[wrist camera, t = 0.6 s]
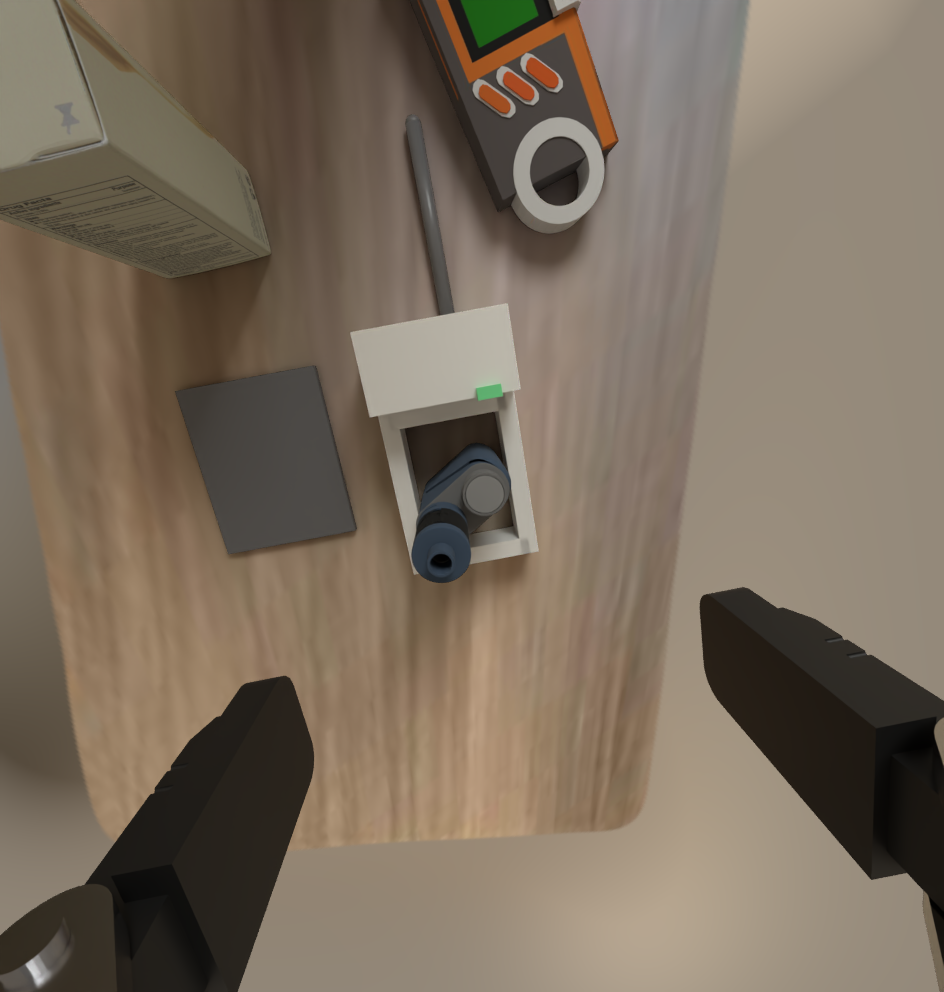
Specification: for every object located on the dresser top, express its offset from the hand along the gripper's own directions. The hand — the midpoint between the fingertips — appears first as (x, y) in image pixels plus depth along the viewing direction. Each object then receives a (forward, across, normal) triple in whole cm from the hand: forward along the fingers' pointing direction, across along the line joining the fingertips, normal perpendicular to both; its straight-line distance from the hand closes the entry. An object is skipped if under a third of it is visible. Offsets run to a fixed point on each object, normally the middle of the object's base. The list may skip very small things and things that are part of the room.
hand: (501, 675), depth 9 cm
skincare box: (+20, +11, -16) cm, 28 cm away
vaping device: (+20, 0, 0) cm, 20 cm away
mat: (+20, +11, -3) cm, 23 cm away
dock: (+20, 0, -7) cm, 21 cm away
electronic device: (+21, -6, -20) cm, 29 cm away
